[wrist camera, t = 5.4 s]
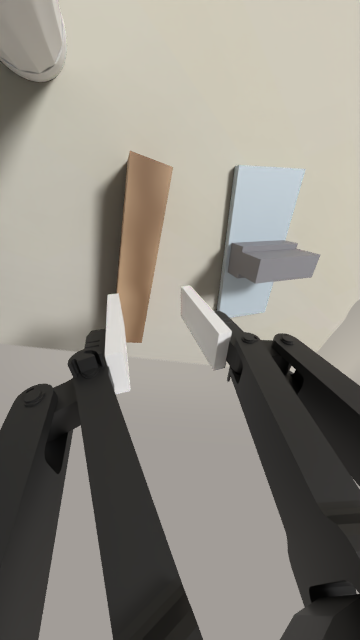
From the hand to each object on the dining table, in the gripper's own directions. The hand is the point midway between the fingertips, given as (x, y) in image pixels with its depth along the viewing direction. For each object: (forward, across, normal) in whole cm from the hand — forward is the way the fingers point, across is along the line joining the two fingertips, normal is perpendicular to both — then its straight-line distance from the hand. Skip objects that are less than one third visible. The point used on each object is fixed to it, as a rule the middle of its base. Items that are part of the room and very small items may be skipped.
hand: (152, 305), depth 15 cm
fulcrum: (+13, +18, 0) cm, 23 cm away
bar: (+14, 0, 0) cm, 14 cm away
